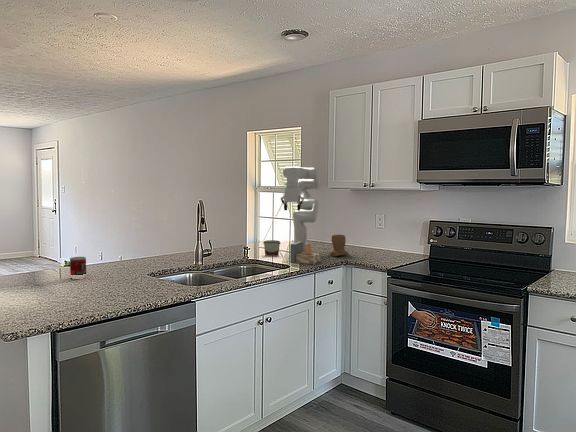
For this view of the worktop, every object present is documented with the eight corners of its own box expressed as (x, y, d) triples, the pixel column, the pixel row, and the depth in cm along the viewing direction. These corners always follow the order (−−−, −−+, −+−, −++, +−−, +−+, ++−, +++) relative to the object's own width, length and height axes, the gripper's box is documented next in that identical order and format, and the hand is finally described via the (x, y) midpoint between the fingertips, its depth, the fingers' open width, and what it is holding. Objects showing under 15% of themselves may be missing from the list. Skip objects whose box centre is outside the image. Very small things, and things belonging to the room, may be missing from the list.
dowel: (306, 261, 291) (306, 243, 290) (312, 261, 289) (312, 243, 289) (303, 262, 288) (304, 243, 287) (309, 262, 286) (309, 244, 285)
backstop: (299, 259, 299) (299, 241, 298) (303, 259, 297) (303, 241, 297) (290, 262, 286) (290, 244, 285) (294, 263, 285) (294, 244, 284)
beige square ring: (302, 259, 296) (303, 252, 296) (319, 261, 291) (320, 253, 291) (295, 262, 286) (295, 254, 285) (313, 264, 281) (313, 256, 280)
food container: (281, 254, 321) (281, 240, 320) (280, 255, 315) (280, 241, 314) (264, 253, 322) (264, 240, 321) (263, 255, 316) (263, 241, 315)
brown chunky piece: (338, 253, 326) (338, 232, 325) (351, 255, 317) (351, 234, 316) (324, 255, 316) (324, 234, 314) (337, 257, 307) (338, 235, 306)
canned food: (76, 280, 232) (75, 259, 231) (67, 278, 236) (66, 258, 235) (89, 278, 238) (89, 257, 237) (80, 276, 242) (80, 256, 242)
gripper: (278, 185, 302) (278, 210, 303) (301, 185, 295) (301, 211, 296) (283, 185, 309) (283, 209, 310) (306, 185, 301) (306, 210, 303)
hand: (292, 210), depth 303 cm, fingers open, 9 cm apart
